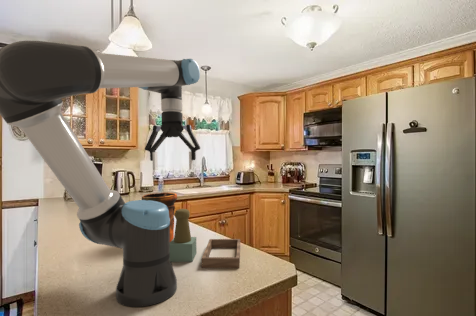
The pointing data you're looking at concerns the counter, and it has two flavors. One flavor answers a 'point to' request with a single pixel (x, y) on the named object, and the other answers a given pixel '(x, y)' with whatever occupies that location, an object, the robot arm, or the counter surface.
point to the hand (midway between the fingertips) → (173, 169)
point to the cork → (182, 226)
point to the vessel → (169, 202)
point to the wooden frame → (221, 261)
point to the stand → (183, 251)
